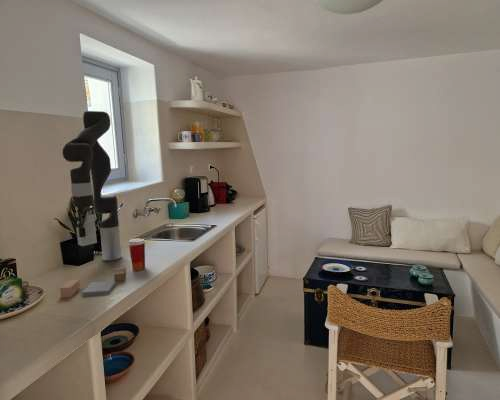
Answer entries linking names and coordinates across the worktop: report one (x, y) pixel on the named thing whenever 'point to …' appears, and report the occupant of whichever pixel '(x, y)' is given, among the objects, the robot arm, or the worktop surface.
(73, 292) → the terracotta brick
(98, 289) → the slate slab
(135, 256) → the paper cup
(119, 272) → the walnut brick
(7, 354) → the worktop surface
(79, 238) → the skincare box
